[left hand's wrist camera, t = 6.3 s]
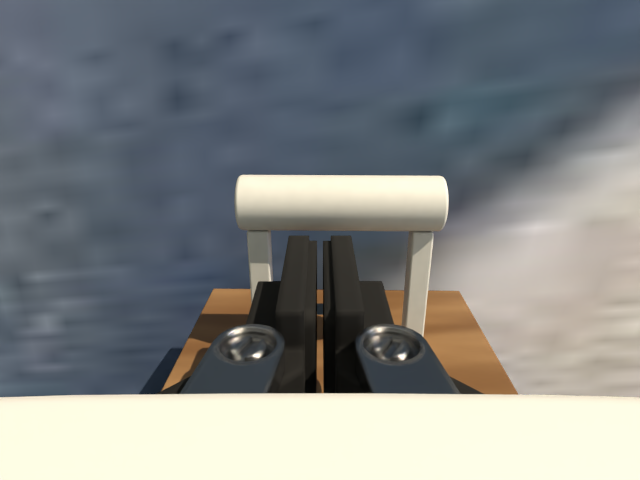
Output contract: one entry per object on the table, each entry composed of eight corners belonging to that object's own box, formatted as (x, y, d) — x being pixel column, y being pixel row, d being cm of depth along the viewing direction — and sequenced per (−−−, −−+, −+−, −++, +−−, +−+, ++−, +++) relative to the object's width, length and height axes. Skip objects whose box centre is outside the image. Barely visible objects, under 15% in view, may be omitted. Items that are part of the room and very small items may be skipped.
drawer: (199, 148, 16) (109, 207, 9) (477, 149, 16) (583, 210, 9) (238, 543, 24) (203, 727, 17) (425, 546, 24) (463, 734, 17)
